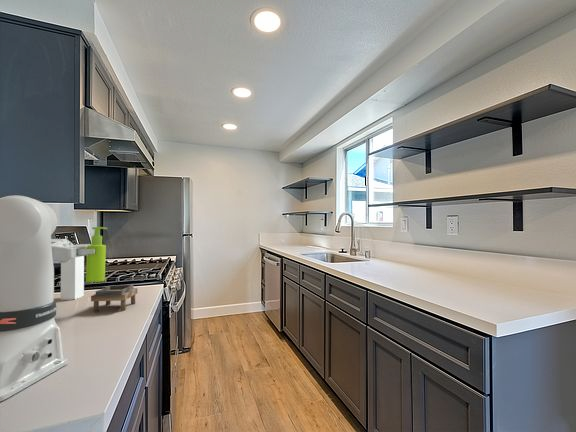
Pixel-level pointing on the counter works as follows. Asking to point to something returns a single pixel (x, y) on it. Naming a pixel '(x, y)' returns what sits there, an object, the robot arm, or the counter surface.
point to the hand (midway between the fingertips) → (100, 250)
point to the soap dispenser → (96, 258)
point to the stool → (114, 295)
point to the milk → (72, 278)
